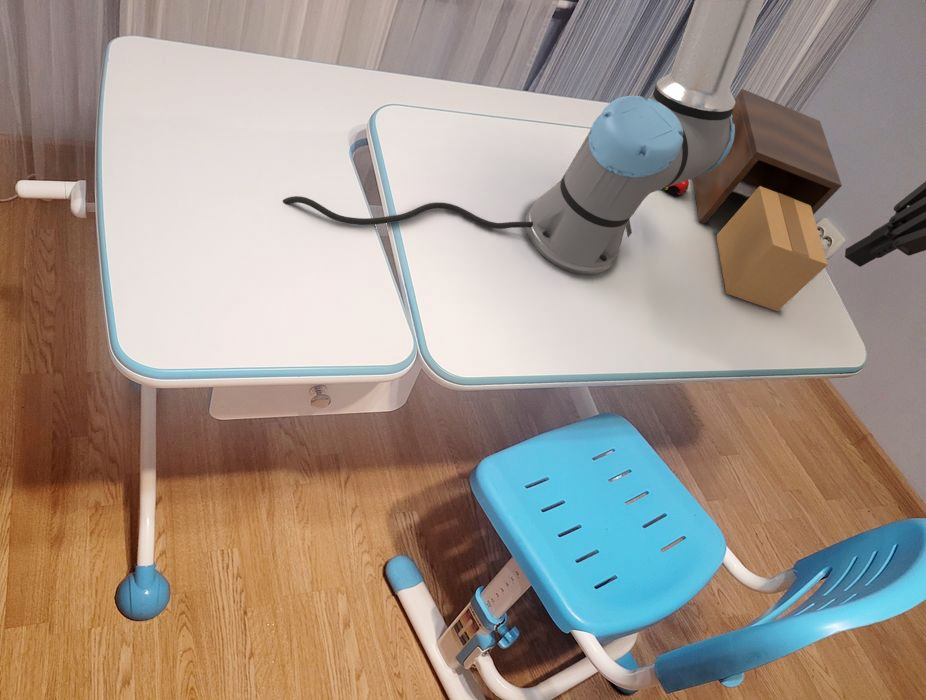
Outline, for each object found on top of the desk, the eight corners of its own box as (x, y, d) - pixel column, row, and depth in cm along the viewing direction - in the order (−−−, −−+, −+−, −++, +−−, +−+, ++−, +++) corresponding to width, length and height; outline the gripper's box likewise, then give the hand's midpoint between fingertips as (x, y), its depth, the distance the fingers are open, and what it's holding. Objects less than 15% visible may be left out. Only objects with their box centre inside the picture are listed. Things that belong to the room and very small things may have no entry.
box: (777, 311, 127) (828, 264, 118) (725, 293, 125) (773, 244, 115) (764, 253, 135) (811, 205, 126) (716, 235, 133) (759, 185, 124)
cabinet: (778, 250, 137) (842, 185, 125) (699, 222, 134) (757, 151, 122) (762, 186, 149) (820, 120, 137) (689, 158, 145) (741, 88, 133)
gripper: (1061, 215, 81) (871, 308, 100) (1051, 134, 87) (875, 236, 107) (1011, 179, 79) (828, 280, 99) (1005, 99, 86) (834, 209, 105)
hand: (852, 257), depth 103 cm, fingers closed
